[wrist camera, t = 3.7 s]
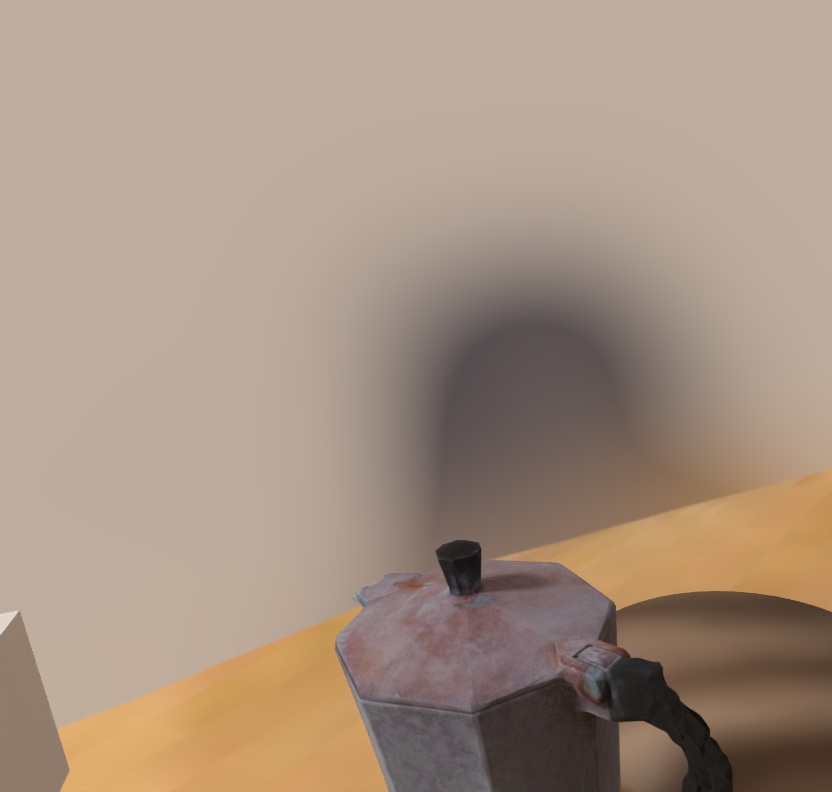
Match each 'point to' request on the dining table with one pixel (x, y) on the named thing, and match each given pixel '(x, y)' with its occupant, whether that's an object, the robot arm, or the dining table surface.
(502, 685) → the moka pot
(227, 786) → the dining table surface
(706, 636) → the disc
